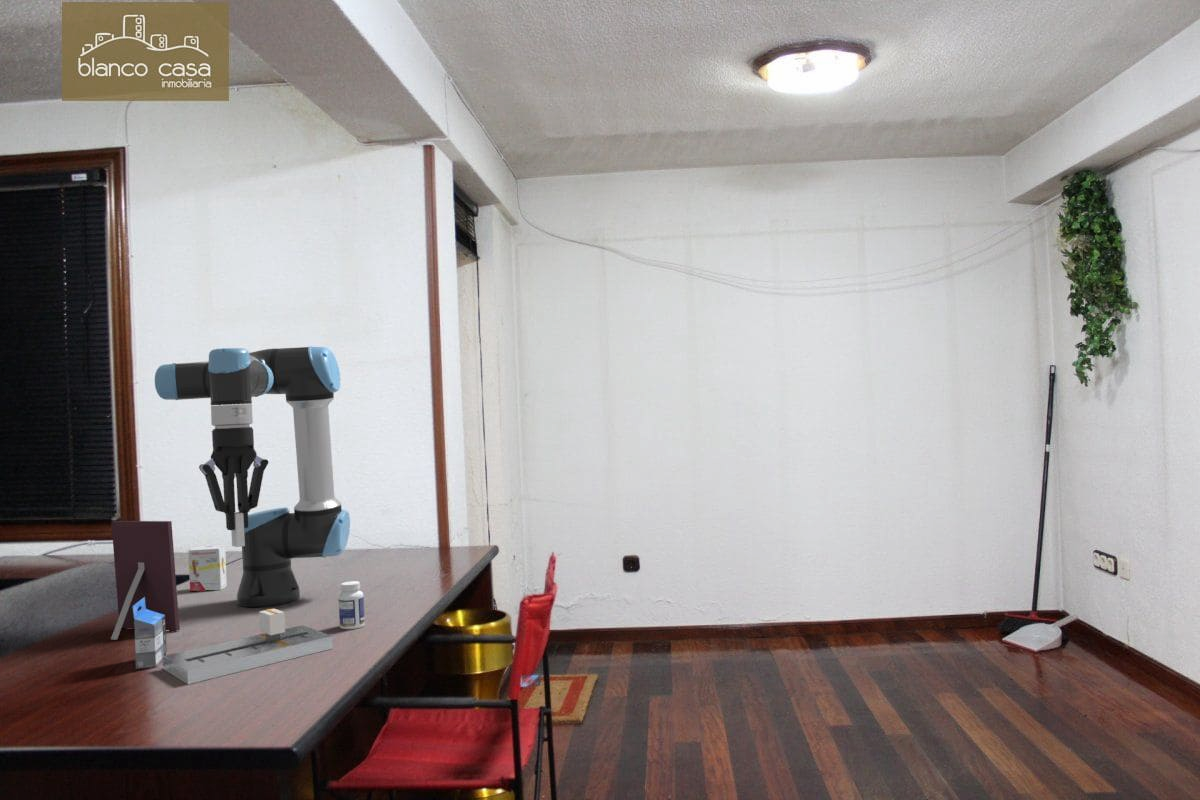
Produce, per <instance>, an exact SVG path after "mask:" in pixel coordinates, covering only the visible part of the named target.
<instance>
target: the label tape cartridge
mask: <svg viewBox="0 0 1200 800" xmlns="http://www.w3.org/2000/svg"><path fill="white" fill-rule="evenodd" d="M139 606H140V607H141V610H139V611H138V608H139ZM132 608H133V615H134V629H135V630H134V650H135V651H134V652H135V654H134V655H135V670H141V669H153V668H157V666H159V664H160V663H161V662H163V656H165V655H168V654H167V651H168V649H167V631H166V626H165V615H163V614H160V613H157V612H153V611H151V610H148V609H146V606H145V597H144V598H143V599H141V600H140V601H139V602H137V603H136V604H135V605H133V606H132Z"/></svg>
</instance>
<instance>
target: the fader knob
mask: <svg viewBox="0 0 1200 800" xmlns="http://www.w3.org/2000/svg"><path fill="white" fill-rule="evenodd" d="M285 617H286V616H285V611H282V610H279V609H276V608H267V609H265V610H261V611H260V610H259V631H260V632H261V633H263V634H265V633H266V643H270V642H275V641H278V640H280V633H283V632H285V629H286V622H285V621H286V620H285Z"/></svg>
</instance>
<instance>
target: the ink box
mask: <svg viewBox="0 0 1200 800" xmlns="http://www.w3.org/2000/svg"><path fill="white" fill-rule="evenodd" d="M187 552H188V573H189V592H190V591H200V592H207V591H206V590H215V591H222V590H224V589H225V588H227V584H228V583H227V560H226V559H227V557H226V556H227V555H226V545H224V544H221V545H220V544H217V545H202V546H201V545H198V546H194V547H192V548H190V549H188V551H187Z"/></svg>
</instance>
